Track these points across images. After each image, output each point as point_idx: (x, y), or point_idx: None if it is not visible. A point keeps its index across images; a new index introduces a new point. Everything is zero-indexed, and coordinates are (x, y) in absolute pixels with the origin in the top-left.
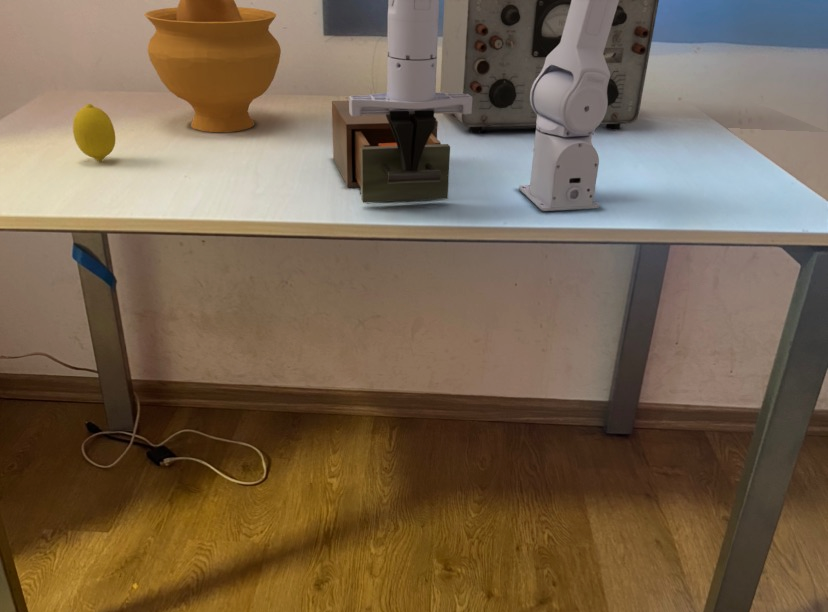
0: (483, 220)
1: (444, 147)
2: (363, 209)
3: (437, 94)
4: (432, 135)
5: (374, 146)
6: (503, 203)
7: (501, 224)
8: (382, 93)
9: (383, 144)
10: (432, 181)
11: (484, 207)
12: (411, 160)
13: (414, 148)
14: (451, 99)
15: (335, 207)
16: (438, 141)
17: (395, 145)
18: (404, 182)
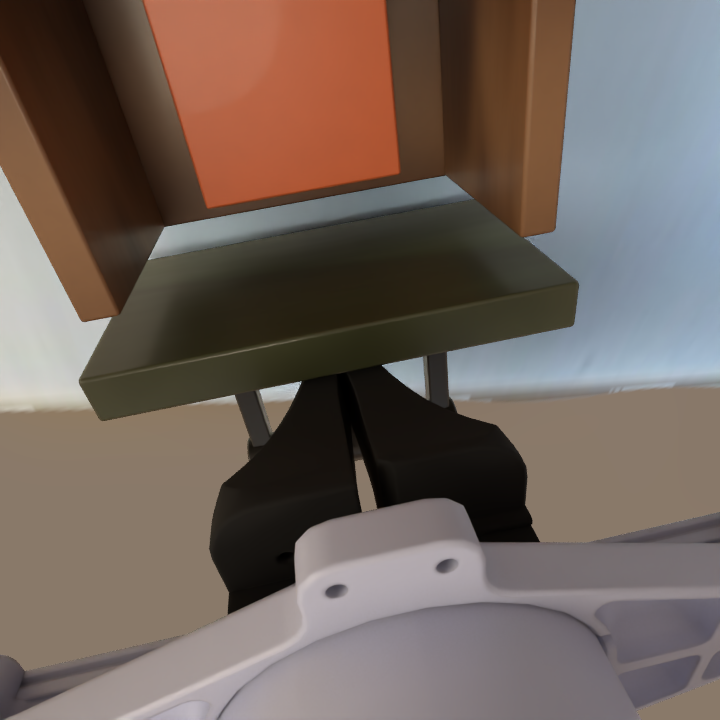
0: (538, 347)
1: (542, 329)
2: None
3: (669, 587)
4: (561, 35)
5: (159, 371)
6: (667, 191)
7: (574, 370)
8: (158, 709)
9: (180, 6)
10: None
11: (586, 236)
12: (355, 428)
13: (374, 495)
14: (678, 691)
15: (43, 264)
16: (550, 206)
17: (274, 35)
18: None
